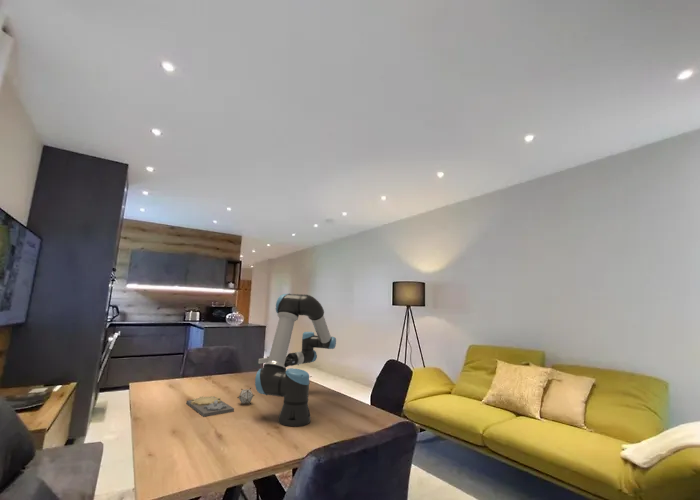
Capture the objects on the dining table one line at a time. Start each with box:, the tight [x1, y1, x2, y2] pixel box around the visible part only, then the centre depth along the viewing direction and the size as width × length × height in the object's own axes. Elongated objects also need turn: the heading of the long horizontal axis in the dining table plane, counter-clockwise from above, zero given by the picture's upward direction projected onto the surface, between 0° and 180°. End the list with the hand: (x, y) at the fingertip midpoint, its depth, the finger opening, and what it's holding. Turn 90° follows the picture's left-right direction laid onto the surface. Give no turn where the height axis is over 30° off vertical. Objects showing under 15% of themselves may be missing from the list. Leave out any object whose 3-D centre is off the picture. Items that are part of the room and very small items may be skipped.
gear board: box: [186, 395, 235, 418], centre depth 173 cm, size 26×15×5 cm, turn 43°
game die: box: [237, 387, 255, 406], centre depth 182 cm, size 9×8×10 cm
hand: (264, 363), depth 191 cm, fingers open, 13 cm apart
